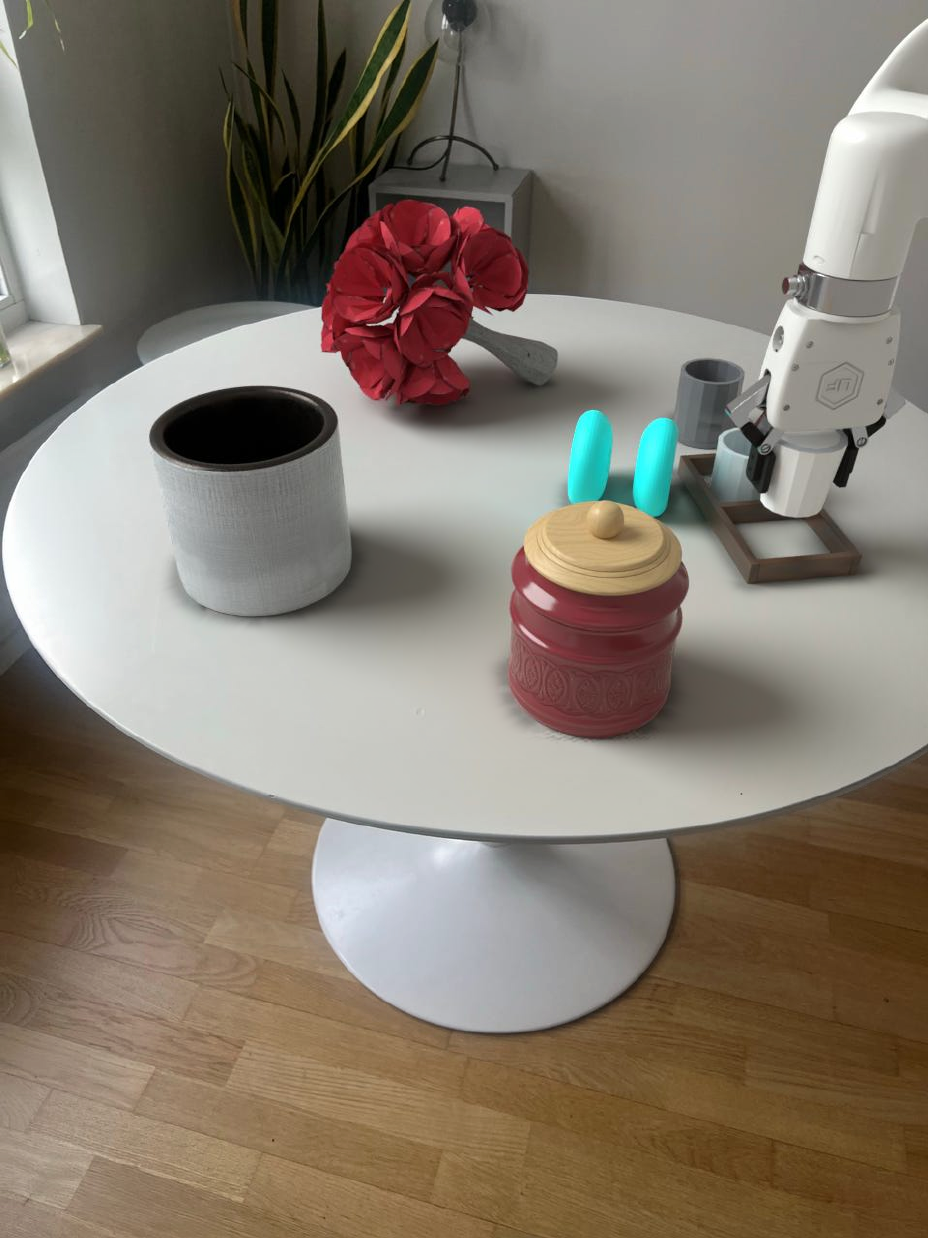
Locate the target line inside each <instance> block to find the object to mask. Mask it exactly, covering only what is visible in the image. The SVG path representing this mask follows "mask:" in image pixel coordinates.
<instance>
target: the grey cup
mask: <svg viewBox="0 0 928 1238" xmlns="http://www.w3.org/2000/svg"><path fill="white" fill-rule="evenodd" d="M745 375H746V371H745V370H744V368H743V367H741V365H738V364H737V363H735V362H732V361H730V360H725V359H721V358H713V357H701V358H694V359H690V360H687V361H686V362H684V363H682V365H681V367H680V374H679V378H678V379H679V380H678V386H677V392H676V399H675V406H674V413H673V419H672V420H673V421H674V422H675V423H676V425H677V427H678V439H677V443H678V442H679V443H680V444H682V445H685V446H687V447H691V448H694V449H703V450H712V449H717V444H718V439H719V436H720V435H721V434H722V433H723V432H724V431H726V430H729V429H733V428H736V427H735V426H736V425H735V423H734V422H733V421H732V419H731V418H730V417H729V415H728V414H727V413H726V411H725V408H726V406H727V405H728V404H729V403H730V402H732V401H733V400H734V399H736V398H737V397H738V396H739V395H741V394H742V393H743V392H742V391H743V387H744V381H745Z"/></svg>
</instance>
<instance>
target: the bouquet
mask: <svg viewBox="0 0 928 1238" xmlns="http://www.w3.org/2000/svg"><path fill="white" fill-rule="evenodd" d="M484 221H485V218H484V216H483V213H482V211H481V210H480V209H479V208H476V207H472V206H464V207H461V208H460V206H458V207H457V209H456V211H455V212H454V213H453V215H452V214H451V215H448V213H447V212H446V211H445V210H444V209H443V208H441V207H440V206H438V205H435V204H433V203H428V202H422V201H418V200H413V199H405V200H404V199H403V200H398V201H397V202H396V203H395V204H394V203H389V204H386V205H385V206H383V208H382V209H380V210H377V211H375V213H374V214H371V215H370V216H369V217H367V219H365V220H364V221H363V223H362V224H361V226H358V227H357V228H356V229H355V230H354V232H353V233H352V234H351V235H350V236H349V238H348V240H347V242H346V245H345V247H344V250H343V252H342V253H341V254H340V256H339V258H338V260H337V261H335V262H333V269H334V272H333V274H332V275H331V279H330V280H329V282H328V283H325V286H326V287H327V289H326V296H324V298H323V301H322V305H321V314H320V315H321V316H320V317H321V321H322V323H323V324H322V327H321V331H320V348H321V353H327V354H336V353H338V352H339V353H340V355H341V359H342V361H343V363H344V364H345V366H346V367H347V369H348V371H349V374H350V376H351V377H352V379H353V380H354V381H355V382H356V384H357V385H358V386H359V387H358V388H359V389H360V390H361V391H362V393H363V394H364V396H366V397H368V398H369V399H371V400H372V401H376V402H379V401H381V400H383V399H385V398H386V400H385V401H387V400H389V399H390V398H391V397H393V395H394V394H395V396H396V408H397V409H398V408H399V406H400V405H402V404H407V403H410V404H413V405H417V406H418V405H427V404H428V405H434V406H443V405H448V404H449V405H450V404H452V402H459V401H460V400H461V399H462V397H464V398H466V397H468V396H469V393H470V389H469V388H470V379H468V377H467V376H466V375H465V373H464V372H463V371H462V369H461V368H460V367H459V365H458V363H457V361H456V360H454V359H453V358H452V357H451V356H450V355H449V354H450V353H451V352H452V349H453V348H455V347H456V346H457V345H458V344H459V342H460V340H461V339H462V340H466V341H469V342H470V343H473V344H476V345H478V346H479V347H481V348H483V349H484V350H485V351H488V352H489V353H490V354H492V355H493V356H494V357H495V358H496V359H497V360H499V361H500V362H501V363H503V364H504V365H505V367H507V368H508V369H510V370H511V371H512V372H514V373H515V374H516V375H518V376H519V377H521V378H522V379H524V380H525V381H527V382H529V383H531V384H533V385H535V386H537V387H538V386H543V385H544V384H546V383H547V382H548V381H549V380H550V378H551V377H552V376H553V374H554V372H555V370H556V368H557V364H558V359H559V354H558V353H559V352H558V350H557V349H556V348H554V347H553V346H551V345H549V344H547V343H546V342H543V341H541V340H537V339H536V340H535V339H531V338H526V337H521V336H517V335H512V334H508V333H503V332H500V331H496V330H493V329H491V328H488V327H486V326H484V325H483V324H481V323H479V322H477V321H476V320H474V317H475V316H473V311H474V308H476V309H478V310H479V311H482V312H484V313H487V314H489V315H491V316H493V313H492V312H491V311H490V310H489V309H491V310H494V311H497V312H499V313H501V312H503V311H510V312H512V313H514V312H515V311H517V310H518V309H519V308H521V307H522V306H523V304H524V302H525V299H526V296H527V292H528V286H529V274H530V271H529V267H528V264H527V260H526V258H525V257H524V255H523V253H522V252H521V250H520V249H519V248H517V247H515V246H514V245H513V243H512V237H510V236H509V235H508V234H507V233H505V232H504V231H503V230H500V229H497V228H494V227H491V226H490V225H488V224H487V223H486V222H484ZM449 263H450V272H449V271H448V270H444V269H445V268H446V267H447V266H448V265H449ZM443 270H444V271H443ZM409 276H410V277H412V278H413V279H416V280H414V282H412V283H411V285H410V282H409ZM468 278H469V279H468ZM467 279H468V280H467ZM384 288H385V289H387V292H385V290H384ZM488 308H489V309H488ZM395 311H396V315H395V317H394V320H393V322H387V323H385V324H380V323H383V322H384V321H385V322H386V321H387V320H390V319H391V318H393V314H394V313H395ZM397 311H398V312H397Z"/></svg>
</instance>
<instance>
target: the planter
mask: <svg viewBox="0 0 928 1238" xmlns="http://www.w3.org/2000/svg"><path fill="white" fill-rule="evenodd" d="M338 417H339V416H338V414H337V413H336V410H335V409H334V408H333V406H332V405H331V404H329V403H328V402H327V401H326V400H324V399H323V398H321V397H319V396H317V395H315V394H312V393H310V392H307V391H304V390H301V389H296V388H291V387H286V386H279V385H242V386H241V385H239V386H234V387H233V386H232V387H226V388H225V387H224V388H219V389H215V390H211V391H208V392H204V393H200V394H198V395H195V396H192V397H190V398H187V399H184V400H182V401H181V402H179V403H177V404H175V405H173V406H171V407H170V408H168V409H167V410H166V411H164V412H163V413H162V414H161V415H159V416H158V417H157V419H155V421H154V422H153V423H152V425H151V427H150V430H149V433H148V443H149V447H150V452H151V457H152V460H153V464H154V469H155V474H156V477H157V481H158V486H159V492H160V494H161V500H162V504H163V509H164V513H165V519H166V523H167V528H168V532H169V537H170V542H171V546H172V552H173V556H174V560H175V565H176V569H177V573H178V578H179V579H180V580H179V581H180V582H181V584H182V587H183V589H184V590H185V592H186V593H187V595H188V596H189V597H190V598H191V599H192V600H194V601H195V602H196V603H198V604H199V605H201V606H203V607H205V608H206V609H209V610H212V611H215V612H217V613H220V614H225V615H230V616H238V617H267V616H269V617H270V616H277V615H281V614H286V613H290V612H294V611H297V610H301V609H303V608H306V607H308V606H311V605H313V604H314V603H317V602H319V601H321V600H322V599H324V598H326V597H327V596H328V595H330V594H331V593H333V592H334V591H335V590H336V589H337V588H338V587H339V586H340V585H341V584H342V583H343V581H344V580H346V577H347V576H348V574H349V572H350V569H351V565H352V554H353V550H352V538H351V529H350V520H349V513H348V512H349V510H348V503H347V494H346V485H345V475H344V467H343V458H342V447H341V438H340V437H341V436H340V426H339V418H338Z"/></svg>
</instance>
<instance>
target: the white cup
mask: <svg viewBox="0 0 928 1238" xmlns="http://www.w3.org/2000/svg"><path fill="white" fill-rule="evenodd" d="M770 427H771V426H770ZM847 445H848V437H847V435H846V434H845V433H844V432H843V431H842V430H841V429H834V430H819V431H803V432H785V433H784V434H783V435H782V437H781V438H780V439H779V441H778V442H777V443H776V445H775V446H774V448H773V449H772V451H773V452H774V454H775V455H776V460H775V464H774V468H773V473H772V477H771V481H770V485H769V489H768V492H766V493H763V494H761V496H760V501H761V502H762V504H763V505H764V506H765V507H766V508H768V509H769V510H771V511H772V512H774V513H777V514H780V515H783V516H788V517H795V518H801V517H810V516H813V515H815V514H818V512H819V511H820V510H821V509H822V507H823V508H824V505H825V502H826V500H827V497H828V495H829V492H830V490H831V487H832V484H833V480H834V477H835V475H836V472H837V470H838V467H839V465H840V462H841V460H842V457H843V455H844V452H845V450H846V447H847Z"/></svg>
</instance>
